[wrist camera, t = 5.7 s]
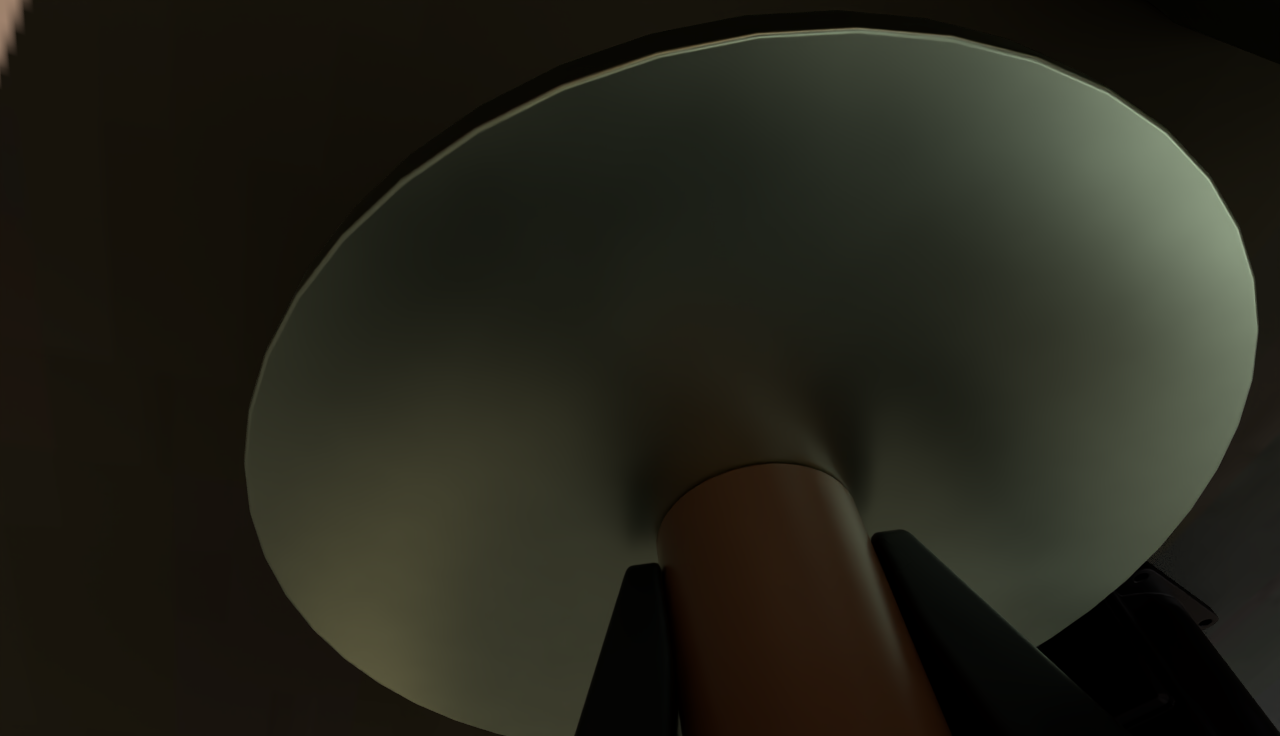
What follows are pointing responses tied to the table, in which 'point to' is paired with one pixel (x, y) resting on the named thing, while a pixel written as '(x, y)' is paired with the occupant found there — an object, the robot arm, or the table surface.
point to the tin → (1231, 22)
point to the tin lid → (748, 371)
